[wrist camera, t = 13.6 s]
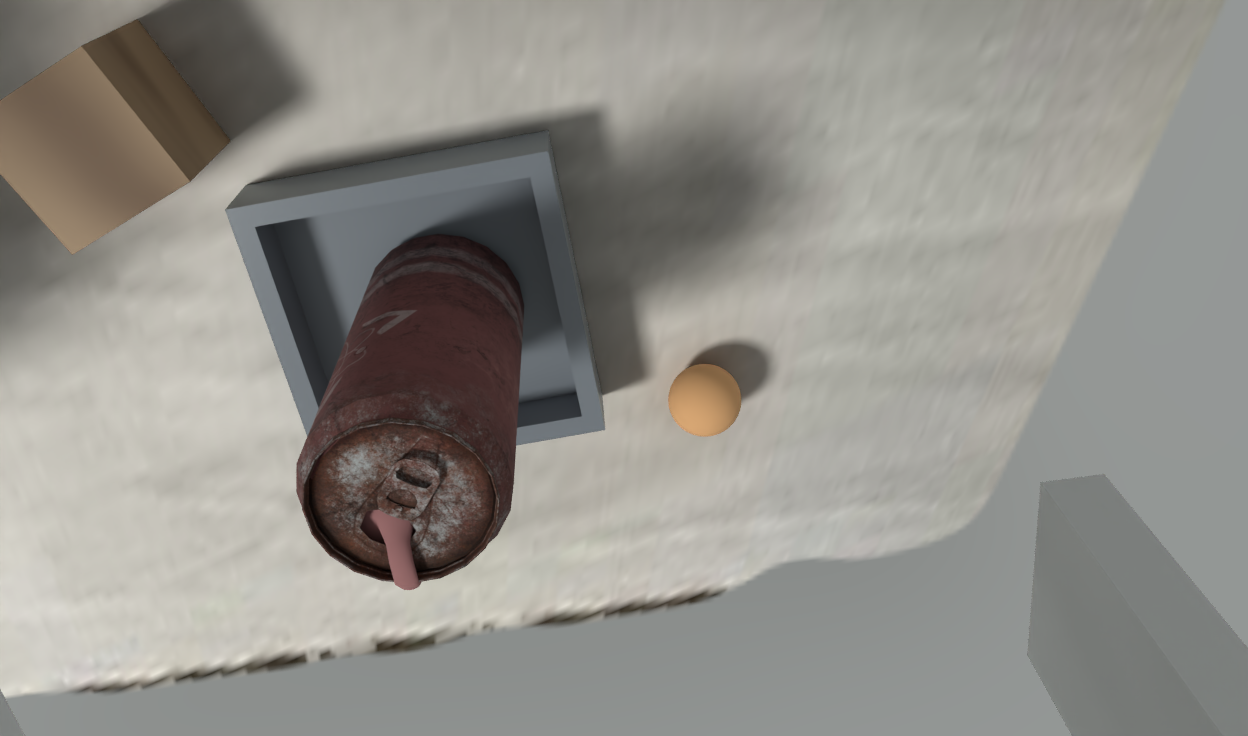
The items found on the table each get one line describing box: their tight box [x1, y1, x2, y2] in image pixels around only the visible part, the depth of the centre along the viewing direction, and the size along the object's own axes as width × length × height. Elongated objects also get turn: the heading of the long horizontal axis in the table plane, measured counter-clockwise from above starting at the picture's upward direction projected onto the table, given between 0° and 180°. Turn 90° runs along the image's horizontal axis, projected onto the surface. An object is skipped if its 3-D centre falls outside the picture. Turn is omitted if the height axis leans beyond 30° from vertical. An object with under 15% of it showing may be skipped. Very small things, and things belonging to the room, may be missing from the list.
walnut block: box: [0, 19, 230, 255], centre depth 36 cm, size 5×5×5 cm
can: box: [297, 234, 524, 590], centre depth 35 cm, size 6×6×14 cm
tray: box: [225, 130, 605, 445], centre depth 41 cm, size 12×12×3 cm
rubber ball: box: [668, 364, 741, 436], centre depth 43 cm, size 3×3×3 cm
